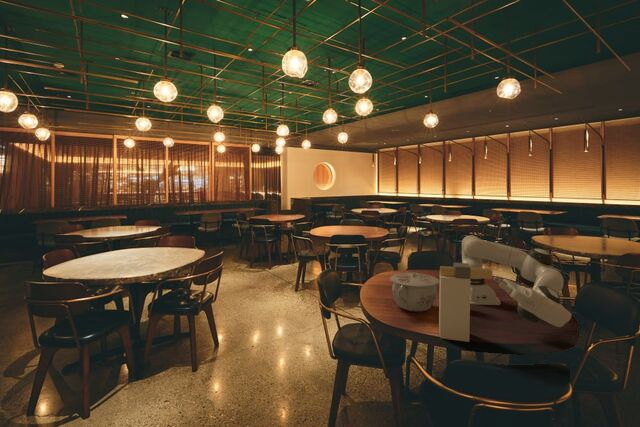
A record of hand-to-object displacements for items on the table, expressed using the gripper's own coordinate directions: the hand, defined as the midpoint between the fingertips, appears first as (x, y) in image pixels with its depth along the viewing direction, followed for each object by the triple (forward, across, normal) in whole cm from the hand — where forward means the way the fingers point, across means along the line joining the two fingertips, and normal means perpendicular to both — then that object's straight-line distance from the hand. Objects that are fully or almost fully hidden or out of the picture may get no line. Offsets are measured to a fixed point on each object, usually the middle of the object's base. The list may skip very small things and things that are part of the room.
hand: (496, 280), depth 134 cm
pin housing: (+1, +1, -32) cm, 32 cm away
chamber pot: (+17, +31, -41) cm, 55 cm away
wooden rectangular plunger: (+11, +1, -5) cm, 13 cm away
